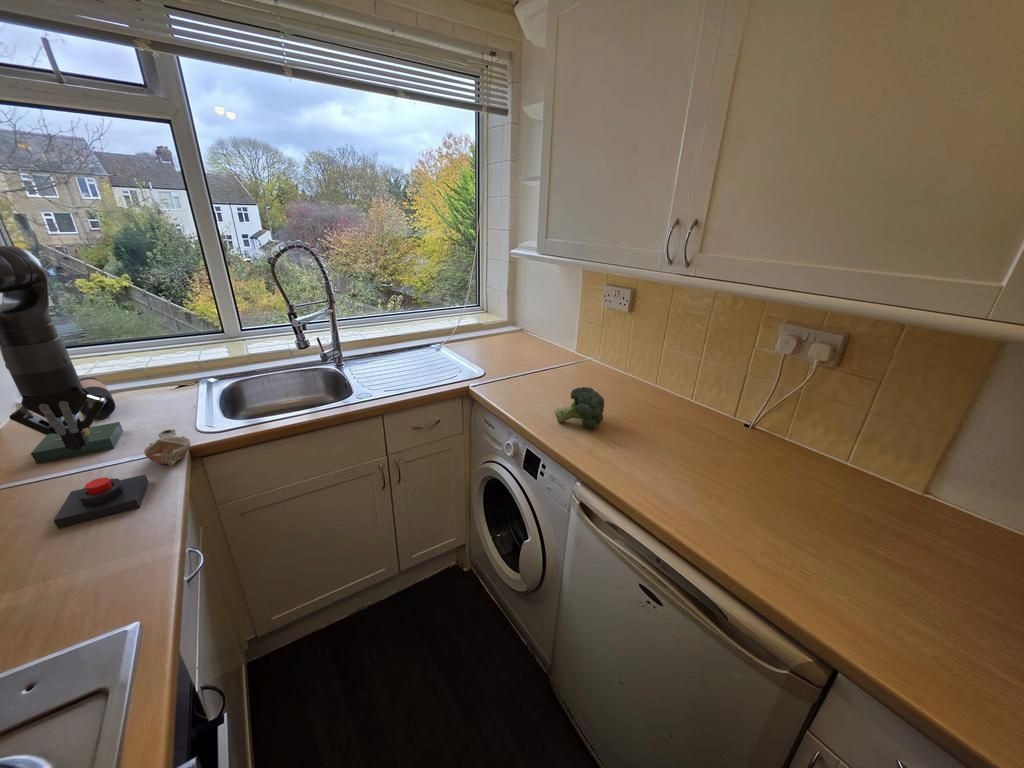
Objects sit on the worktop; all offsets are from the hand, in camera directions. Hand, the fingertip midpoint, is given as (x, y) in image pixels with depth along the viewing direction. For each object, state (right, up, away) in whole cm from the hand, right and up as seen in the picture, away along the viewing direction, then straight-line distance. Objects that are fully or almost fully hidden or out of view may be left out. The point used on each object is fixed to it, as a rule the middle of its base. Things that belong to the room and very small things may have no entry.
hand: (78, 448), depth 79 cm
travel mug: (-34, +6, +37) cm, 50 cm away
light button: (0, -9, +4) cm, 10 cm away
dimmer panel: (-26, -4, +25) cm, 36 cm away
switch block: (0, -12, +5) cm, 13 cm away
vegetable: (+104, 0, +40) cm, 111 cm away
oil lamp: (0, -6, +21) cm, 22 cm away
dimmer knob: (-26, -1, +24) cm, 35 cm away
